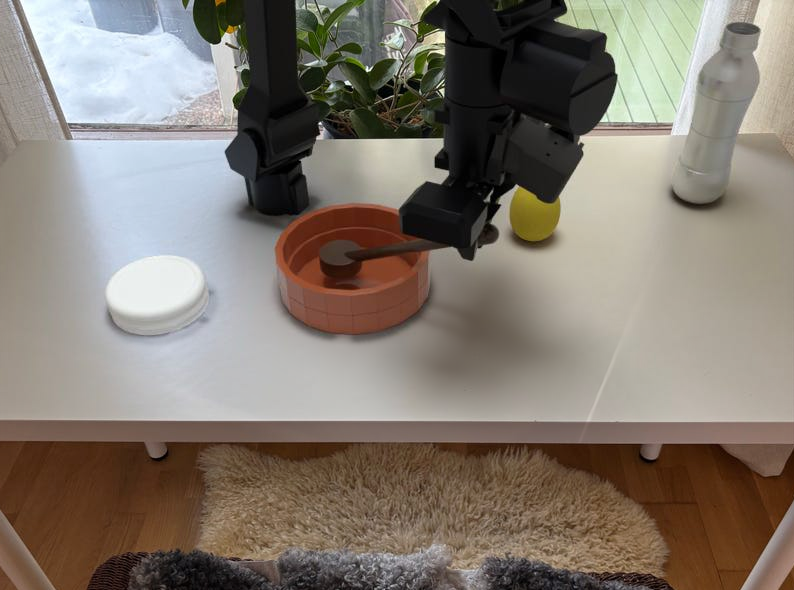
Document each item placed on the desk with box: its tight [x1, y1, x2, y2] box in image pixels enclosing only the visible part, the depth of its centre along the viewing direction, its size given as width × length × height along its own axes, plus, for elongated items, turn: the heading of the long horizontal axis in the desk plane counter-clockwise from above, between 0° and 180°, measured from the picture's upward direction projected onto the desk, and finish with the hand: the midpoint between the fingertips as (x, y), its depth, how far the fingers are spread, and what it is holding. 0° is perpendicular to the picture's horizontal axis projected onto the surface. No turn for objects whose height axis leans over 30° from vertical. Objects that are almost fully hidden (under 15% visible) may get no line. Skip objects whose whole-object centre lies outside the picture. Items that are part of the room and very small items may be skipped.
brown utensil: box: [319, 223, 500, 279], centre depth 75 cm, size 19×4×10 cm, turn 64°
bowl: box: [274, 202, 432, 335], centre depth 80 cm, size 16×16×6 cm
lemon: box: [508, 186, 562, 242], centre depth 85 cm, size 6×6×8 cm
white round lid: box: [104, 254, 210, 336], centre depth 79 cm, size 10×10×4 cm
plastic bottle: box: [671, 21, 762, 205], centre depth 87 cm, size 6×7×20 cm
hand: (472, 253), depth 72 cm, fingers closed on brown utensil, 2 cm apart
